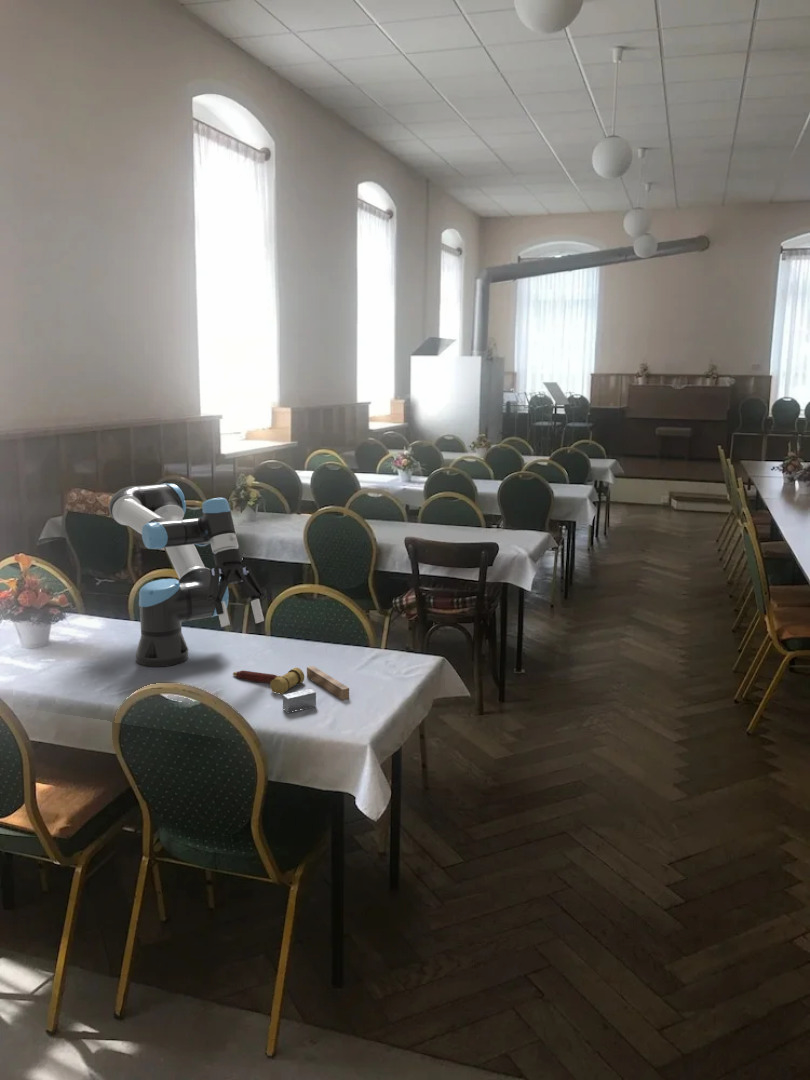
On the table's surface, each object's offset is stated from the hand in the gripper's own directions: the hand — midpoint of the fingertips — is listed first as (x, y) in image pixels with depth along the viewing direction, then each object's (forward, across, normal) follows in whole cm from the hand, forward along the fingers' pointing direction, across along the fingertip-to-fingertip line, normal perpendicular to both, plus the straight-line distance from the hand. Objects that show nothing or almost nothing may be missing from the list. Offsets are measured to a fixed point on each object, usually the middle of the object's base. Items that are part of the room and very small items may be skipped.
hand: (243, 623), depth 238 cm
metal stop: (+27, -5, -17) cm, 32 cm away
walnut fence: (+23, +10, -16) cm, 30 cm away
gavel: (+18, +3, +1) cm, 18 cm away
